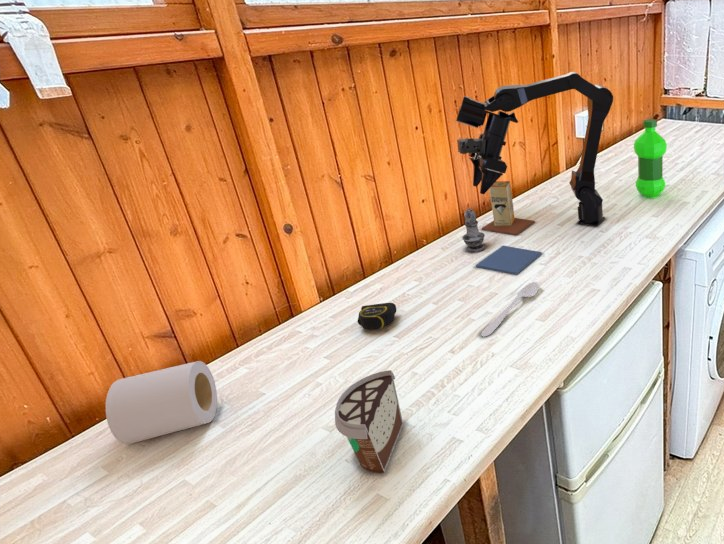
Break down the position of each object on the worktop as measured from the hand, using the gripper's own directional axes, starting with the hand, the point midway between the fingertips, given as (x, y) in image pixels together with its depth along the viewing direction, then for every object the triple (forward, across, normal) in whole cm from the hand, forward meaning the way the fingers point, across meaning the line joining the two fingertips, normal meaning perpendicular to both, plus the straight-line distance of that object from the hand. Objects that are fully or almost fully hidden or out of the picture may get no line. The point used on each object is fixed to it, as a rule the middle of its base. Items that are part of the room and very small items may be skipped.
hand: (478, 189), depth 140 cm
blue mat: (+13, +15, +9) cm, 22 cm away
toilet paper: (+42, +46, -48) cm, 78 cm away
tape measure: (+28, +30, -20) cm, 46 cm away
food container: (+31, +66, -21) cm, 77 cm away
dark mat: (+10, -7, +14) cm, 18 cm away
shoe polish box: (+9, -9, +13) cm, 18 cm away
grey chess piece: (+15, +4, +3) cm, 16 cm away
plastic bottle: (-11, -8, +58) cm, 60 cm away
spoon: (+17, +39, +4) cm, 43 cm away
